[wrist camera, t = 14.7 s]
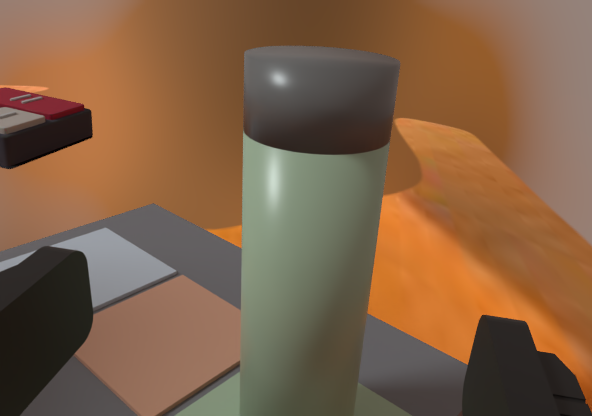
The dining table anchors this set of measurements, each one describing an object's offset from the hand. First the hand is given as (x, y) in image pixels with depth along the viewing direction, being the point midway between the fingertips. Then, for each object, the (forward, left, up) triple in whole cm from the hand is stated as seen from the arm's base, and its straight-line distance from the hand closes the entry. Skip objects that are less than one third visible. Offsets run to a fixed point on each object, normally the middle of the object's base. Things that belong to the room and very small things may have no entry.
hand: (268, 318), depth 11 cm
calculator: (-48, +12, -11) cm, 51 cm away
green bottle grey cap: (-3, +5, -9) cm, 10 cm away
